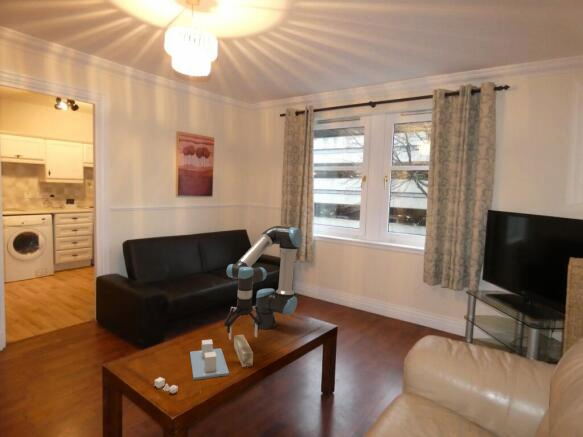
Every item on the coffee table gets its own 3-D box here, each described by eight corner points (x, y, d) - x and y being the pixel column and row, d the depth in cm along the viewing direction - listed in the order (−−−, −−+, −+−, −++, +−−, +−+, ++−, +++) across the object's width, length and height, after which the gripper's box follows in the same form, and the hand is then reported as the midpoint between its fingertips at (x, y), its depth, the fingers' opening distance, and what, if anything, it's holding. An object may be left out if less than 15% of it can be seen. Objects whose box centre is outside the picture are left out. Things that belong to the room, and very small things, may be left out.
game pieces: (154, 387, 150) (154, 380, 150) (160, 383, 153) (160, 376, 153) (172, 396, 144) (173, 388, 144) (179, 392, 147) (179, 385, 147)
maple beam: (242, 346, 192) (243, 334, 191) (252, 366, 171) (253, 352, 171) (233, 347, 190) (234, 335, 190) (242, 367, 170) (243, 353, 169)
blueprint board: (220, 350, 186) (221, 335, 185) (228, 375, 161) (229, 358, 161) (190, 353, 180) (190, 338, 180) (193, 380, 156) (193, 362, 155)
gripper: (221, 300, 171) (219, 342, 172) (270, 298, 179) (268, 338, 180) (219, 296, 178) (217, 336, 179) (266, 294, 186) (264, 332, 187)
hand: (242, 337), depth 180 cm, fingers open, 13 cm apart
